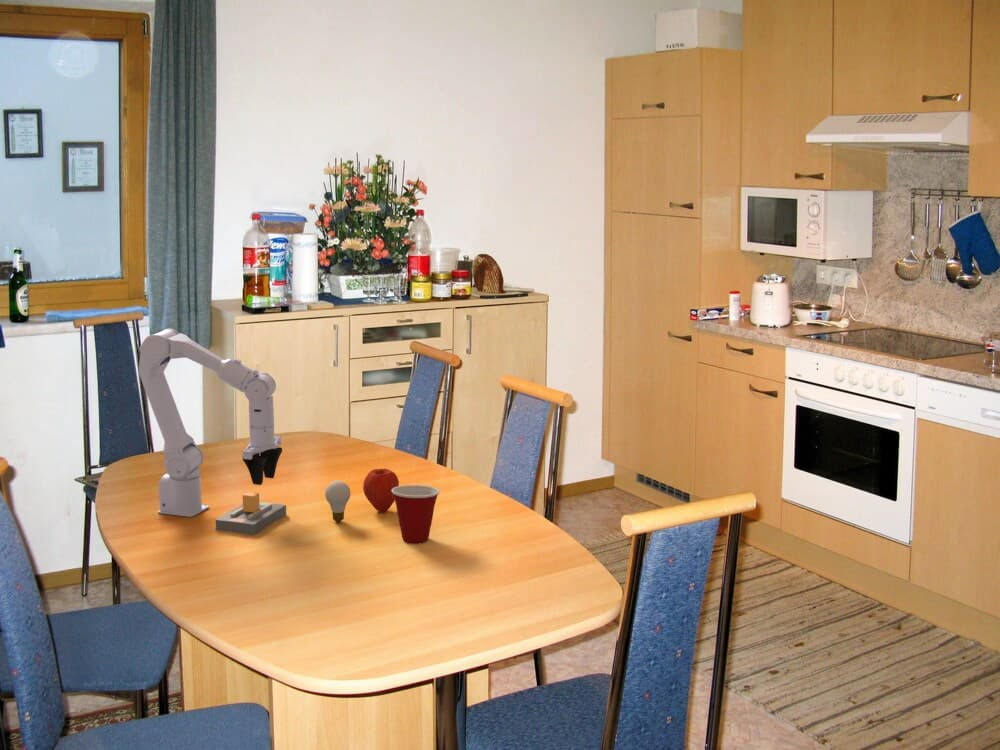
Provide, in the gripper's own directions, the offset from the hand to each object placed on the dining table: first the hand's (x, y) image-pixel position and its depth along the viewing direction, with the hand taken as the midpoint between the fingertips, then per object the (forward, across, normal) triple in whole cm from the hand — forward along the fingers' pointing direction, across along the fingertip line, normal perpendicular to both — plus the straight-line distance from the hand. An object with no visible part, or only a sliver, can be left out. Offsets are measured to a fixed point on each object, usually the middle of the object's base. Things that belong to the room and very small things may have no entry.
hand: (263, 480), depth 266 cm
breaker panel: (+8, -6, 0) cm, 10 cm away
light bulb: (+9, +1, -19) cm, 21 cm away
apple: (+9, +12, -26) cm, 29 cm away
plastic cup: (+9, -4, -41) cm, 42 cm away
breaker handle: (+6, -6, 0) cm, 8 cm away
